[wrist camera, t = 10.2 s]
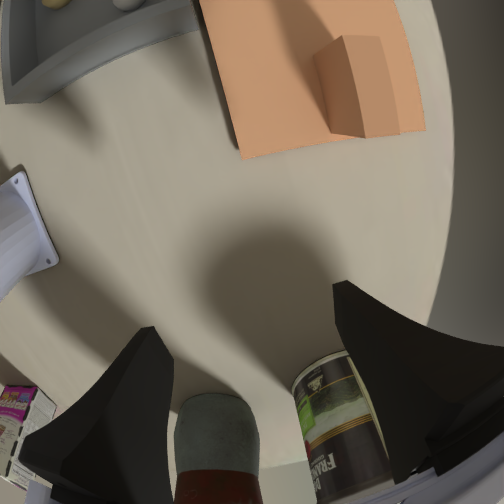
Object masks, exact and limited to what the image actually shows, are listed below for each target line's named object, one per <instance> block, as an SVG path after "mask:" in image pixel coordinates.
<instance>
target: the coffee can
mask: <svg viewBox="0 0 504 504" xmlns="http://www.w3.org/2000/svg"><path fill="white" fill-rule="evenodd" d="M292 395H293V397H294V400H295V405H296V409H297V413H298V418H299V422H300V426H301V430H302V435H303V440H304V444H305V448H306V453H307V457H308V461H309V466H310V470H311V475H312V479H313V484H314V488H315V493H316V498H317V504H345V503H348V502H352V501H355V500H358V499H361V498H364V497H367V496H369V495H372V494H375V493H378V492H380V491H383V490H385V489H388V488H390V487H392V486H395V483H394V480H393V476H392V471H391V466H390V462H389V458H388V453H387V450H386V446H385V442H384V439H383V435H382V432H381V429H380V425H379V422H378V419H377V416H376V413H375V410H374V407H373V405H372V402H371V399H370V396H369V394H368V392H367V389H366V387H365V385H364V383H363V381H362V379H361V377H360V375H359V373H358V371H357V370H356V368H355V366H354V364H353V362H352V360H351V358H350V356H349V354H348V352H347V350H344V351H341V352H337V353H334V354H331V355H328V356H326V357H324V358H322V359H320V360H318V361H316V362H315V363H313V364H311V365H310V366H308V367H307V368H306V369H305V370H304V371H302V372H301V373H300V375H299V376H298V377H297V378H296V380H295V382H294V384H293V386H292Z"/></svg>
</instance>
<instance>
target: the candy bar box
mask: <svg viewBox="0 0 504 504" xmlns="http://www.w3.org/2000/svg"><path fill="white" fill-rule="evenodd" d="M56 408H57V405H56V404H55V403H54V402H53V401H52V400H51V399H50V398H49V397H48V396H47V395H45V394H44V393H43V392H42V391H41V390H40V389H39V388H38V387H36V386H5V388H4V390H3V392H2V394H1V396H0V477H1V478H3V479H5V480H6V481H8V482H10V483H12V484H13V485H15V486H17V487H19V488H21V489H23V490H25V491H27V489H28V485H29V481H30V480H34V481H35V477H36V474H35V473H34V472H32V471H31V470H29V469H28V468H26V467H25V466H24V465H22V464H21V463H20V462H19V460H18V456H19V453H20V450H21V447H22V444H23V441H24V438H25V436H27V435H29V434H31V433H33V432H34V431H36V430H38V429H40V428H42V427H43V426H45V425H47V424H48V423H50V422H51V421H52V419H53V416H54V413H55V411H56Z"/></svg>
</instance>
